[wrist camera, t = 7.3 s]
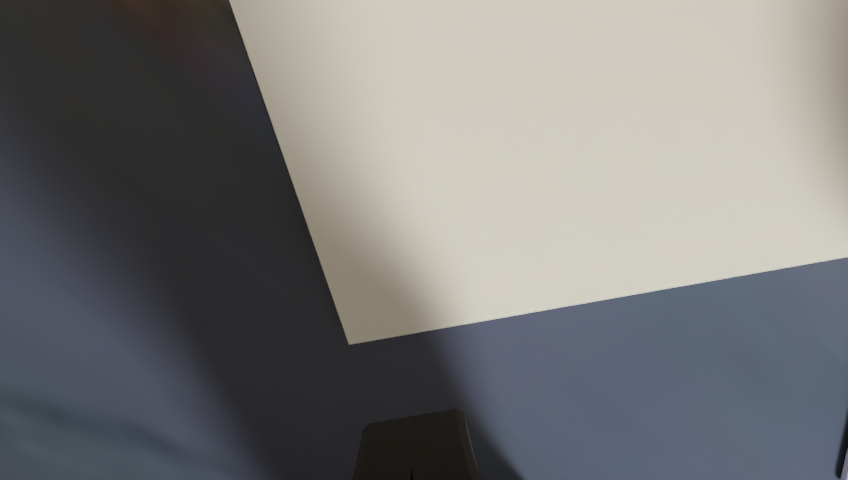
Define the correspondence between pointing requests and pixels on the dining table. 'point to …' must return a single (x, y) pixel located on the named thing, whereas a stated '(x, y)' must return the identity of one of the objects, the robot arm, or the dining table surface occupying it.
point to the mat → (552, 147)
